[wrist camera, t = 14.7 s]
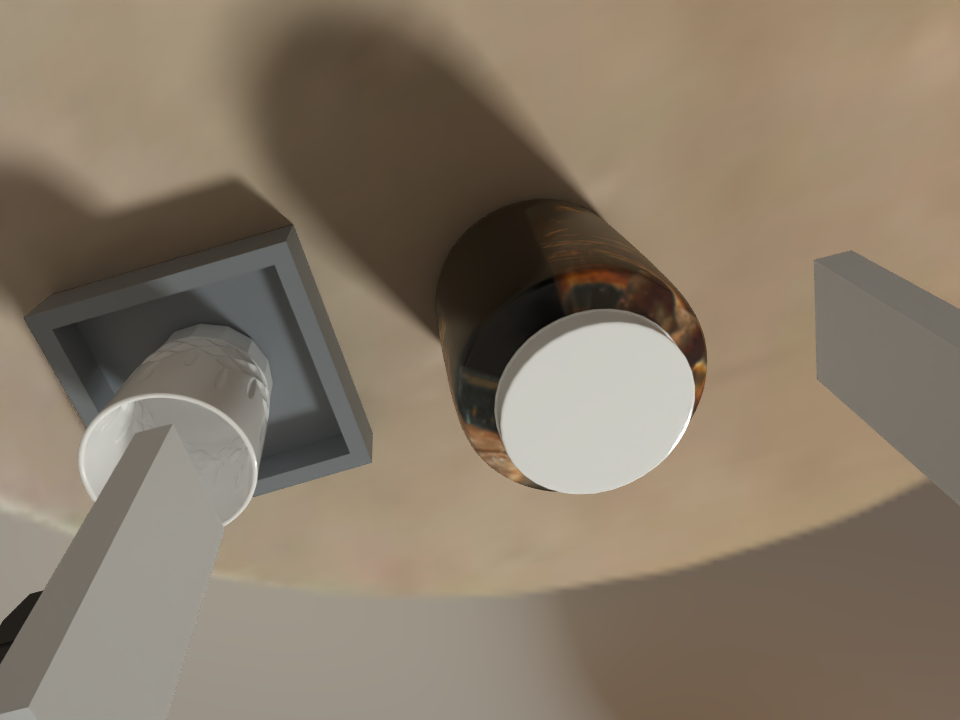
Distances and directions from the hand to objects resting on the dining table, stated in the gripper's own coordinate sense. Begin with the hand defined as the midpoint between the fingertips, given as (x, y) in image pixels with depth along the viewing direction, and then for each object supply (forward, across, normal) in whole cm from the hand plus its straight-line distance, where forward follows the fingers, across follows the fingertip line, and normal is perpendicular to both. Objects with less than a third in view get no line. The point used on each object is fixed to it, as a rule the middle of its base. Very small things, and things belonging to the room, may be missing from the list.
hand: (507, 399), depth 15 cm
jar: (+29, +4, -10) cm, 30 cm away
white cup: (+27, -16, -9) cm, 33 cm away
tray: (+28, -15, -9) cm, 33 cm away
